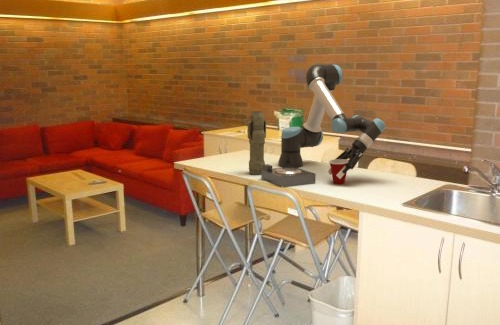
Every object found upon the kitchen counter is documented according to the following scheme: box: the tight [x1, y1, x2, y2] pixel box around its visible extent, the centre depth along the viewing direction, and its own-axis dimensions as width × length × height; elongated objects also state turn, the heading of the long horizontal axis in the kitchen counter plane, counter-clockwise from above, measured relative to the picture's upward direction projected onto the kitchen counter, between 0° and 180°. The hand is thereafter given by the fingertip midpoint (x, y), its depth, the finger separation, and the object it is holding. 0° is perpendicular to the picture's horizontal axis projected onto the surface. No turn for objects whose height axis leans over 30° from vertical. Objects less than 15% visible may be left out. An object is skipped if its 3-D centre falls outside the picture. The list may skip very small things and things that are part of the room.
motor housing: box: [260, 163, 317, 188], centre depth 257 cm, size 22×20×8 cm
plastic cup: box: [328, 158, 349, 185], centre depth 252 cm, size 11×11×12 cm
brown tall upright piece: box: [247, 110, 267, 176], centre depth 273 cm, size 9×12×35 cm
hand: (333, 175), depth 251 cm, fingers closed on plastic cup, 10 cm apart
